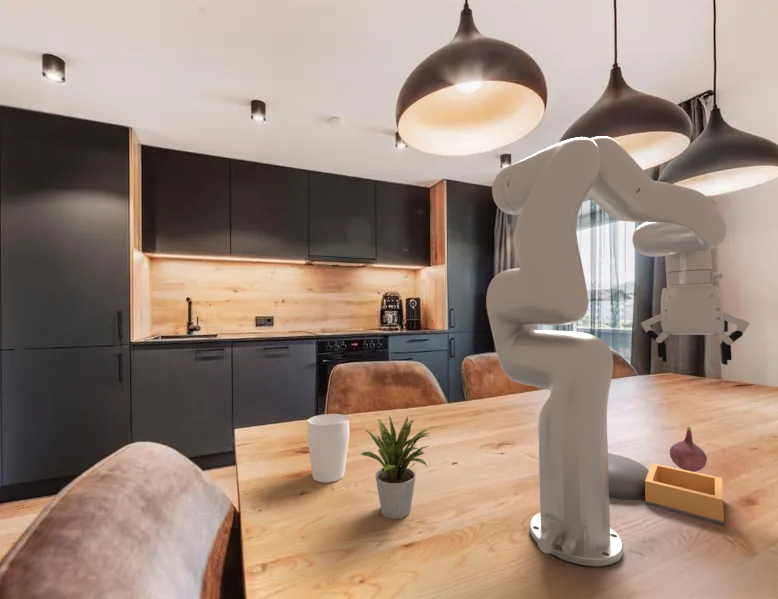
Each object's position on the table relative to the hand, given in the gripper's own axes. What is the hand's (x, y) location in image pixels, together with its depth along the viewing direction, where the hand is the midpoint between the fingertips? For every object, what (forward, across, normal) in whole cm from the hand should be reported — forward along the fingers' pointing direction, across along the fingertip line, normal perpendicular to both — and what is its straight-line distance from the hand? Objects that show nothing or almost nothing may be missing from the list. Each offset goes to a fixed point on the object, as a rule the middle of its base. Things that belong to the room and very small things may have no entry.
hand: (693, 362), depth 77 cm
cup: (+22, +63, +44) cm, 80 cm away
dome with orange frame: (+23, +10, +13) cm, 29 cm away
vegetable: (+24, +2, -1) cm, 24 cm away
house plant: (+22, +43, +48) cm, 68 cm away
